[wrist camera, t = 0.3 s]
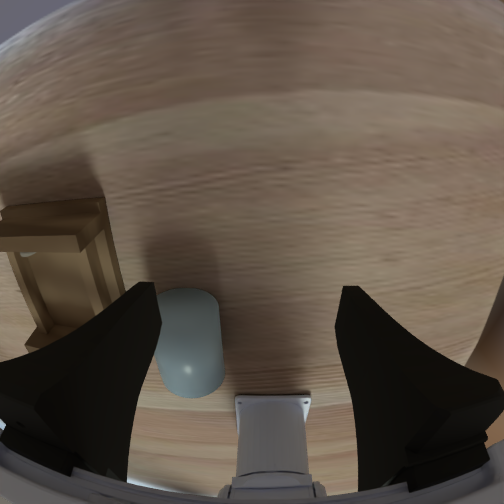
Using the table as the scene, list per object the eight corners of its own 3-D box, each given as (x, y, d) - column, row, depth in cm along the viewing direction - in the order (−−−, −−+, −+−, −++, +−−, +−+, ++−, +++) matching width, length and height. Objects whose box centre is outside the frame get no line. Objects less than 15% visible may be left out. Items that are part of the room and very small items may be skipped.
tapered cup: (228, 352, 26) (220, 401, 22) (170, 347, 27) (155, 393, 22) (223, 289, 23) (212, 339, 18) (156, 285, 23) (132, 332, 19)
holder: (140, 342, 26) (126, 379, 22) (51, 330, 27) (32, 359, 23) (104, 197, 20) (72, 222, 16) (7, 206, 20) (-26, 228, 16)
